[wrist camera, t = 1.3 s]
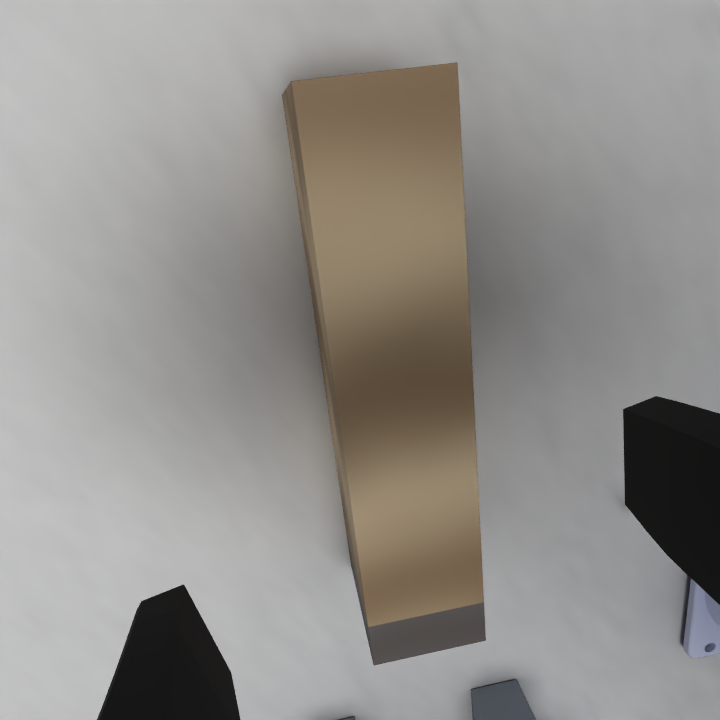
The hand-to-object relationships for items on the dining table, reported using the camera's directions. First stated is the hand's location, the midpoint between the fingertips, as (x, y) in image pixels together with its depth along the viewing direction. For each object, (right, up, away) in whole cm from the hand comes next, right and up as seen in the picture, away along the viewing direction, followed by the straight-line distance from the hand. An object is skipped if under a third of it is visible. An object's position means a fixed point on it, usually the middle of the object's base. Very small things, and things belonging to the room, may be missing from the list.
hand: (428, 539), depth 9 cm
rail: (-1, +3, +10) cm, 11 cm away
